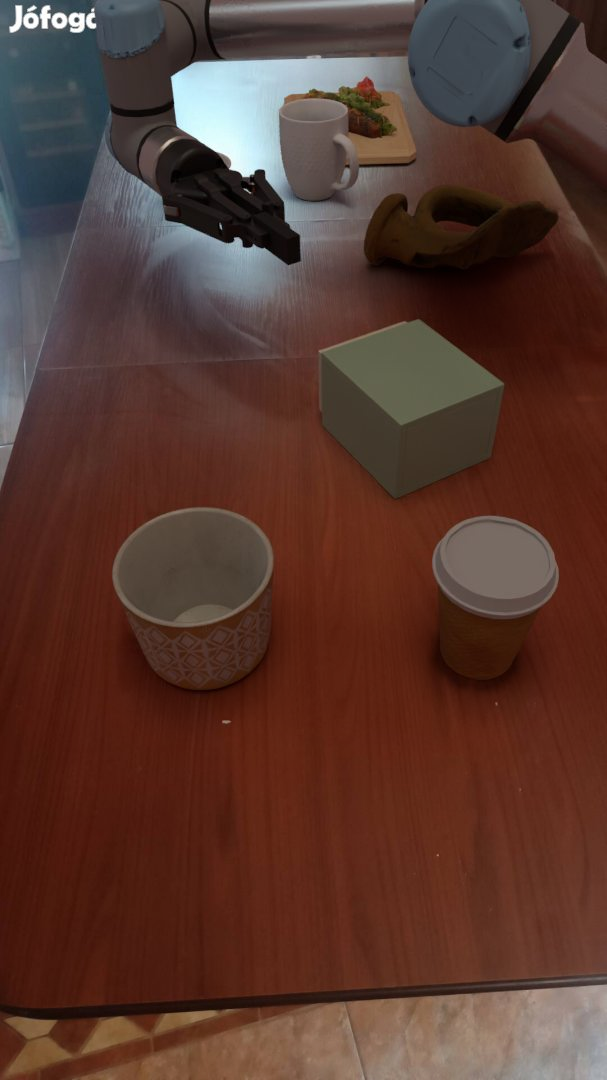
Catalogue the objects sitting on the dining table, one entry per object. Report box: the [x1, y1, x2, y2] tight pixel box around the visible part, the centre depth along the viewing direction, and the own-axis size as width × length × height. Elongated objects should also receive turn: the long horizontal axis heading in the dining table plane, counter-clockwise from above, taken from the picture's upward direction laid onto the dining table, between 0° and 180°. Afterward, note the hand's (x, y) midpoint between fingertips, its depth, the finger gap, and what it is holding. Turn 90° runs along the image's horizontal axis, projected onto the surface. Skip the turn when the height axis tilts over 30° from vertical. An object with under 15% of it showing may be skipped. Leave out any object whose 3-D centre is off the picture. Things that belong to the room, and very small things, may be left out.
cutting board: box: [283, 76, 417, 166], centre depth 152 cm, size 35×23×8 cm
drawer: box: [317, 320, 408, 413], centre depth 87 cm, size 15×11×8 cm
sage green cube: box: [321, 318, 505, 500], centre depth 85 cm, size 15×13×10 cm
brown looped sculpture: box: [363, 184, 560, 271], centre depth 112 cm, size 18×13×22 cm
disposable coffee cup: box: [431, 515, 560, 681], centre depth 65 cm, size 10×10×12 cm
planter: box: [111, 506, 275, 691], centre depth 66 cm, size 13×13×10 cm
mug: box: [278, 98, 360, 202], centre depth 129 cm, size 15×11×13 cm
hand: (293, 250), depth 78 cm, fingers closed
